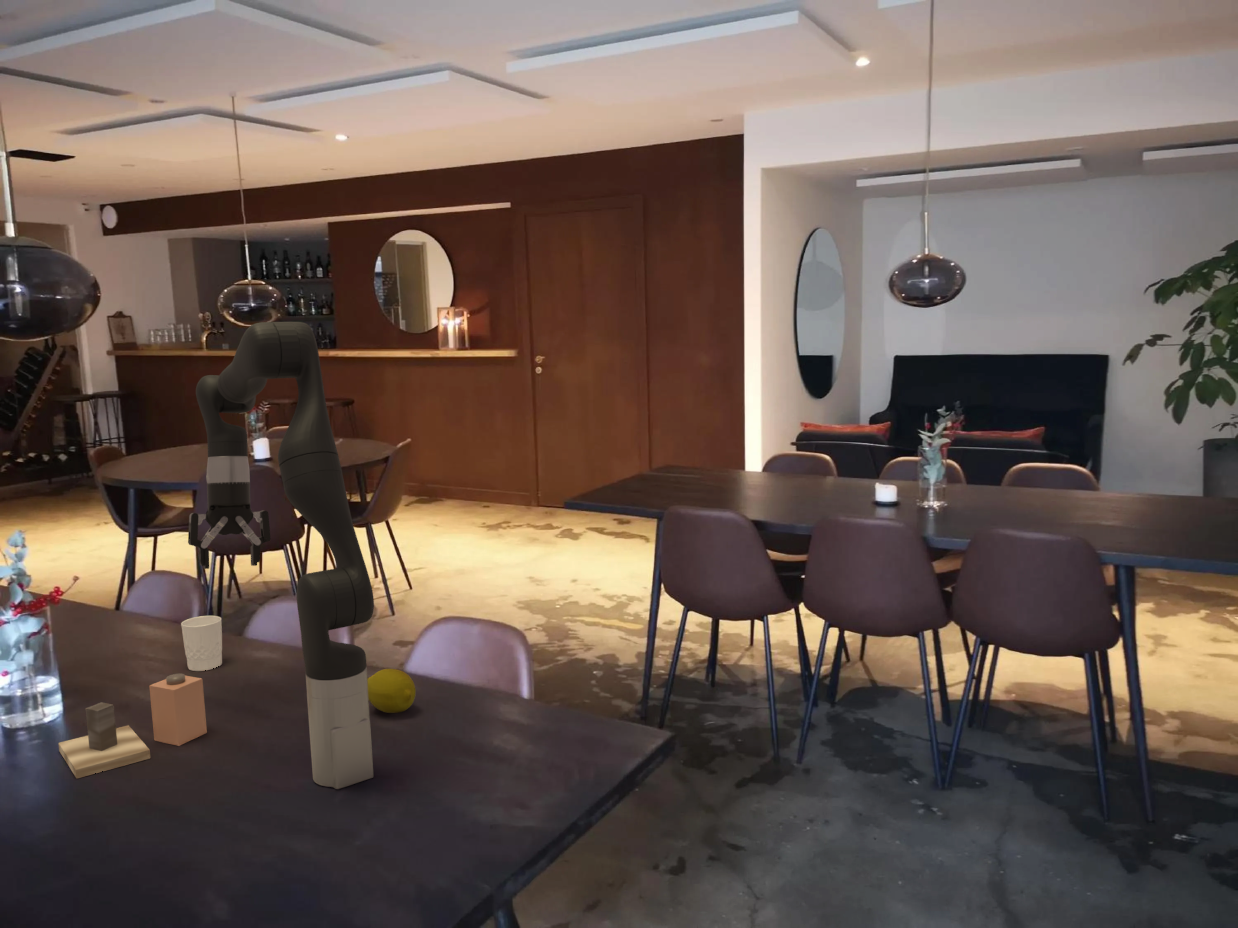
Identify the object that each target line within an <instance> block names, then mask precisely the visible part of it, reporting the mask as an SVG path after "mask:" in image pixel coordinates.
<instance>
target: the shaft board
mask: <svg viewBox="0 0 1238 928" xmlns="http://www.w3.org/2000/svg"><path fill="white" fill-rule="evenodd" d="M115 715H116V714H115V705H114V704H111V703H107V702H98V703H95V704H94V705H90V706H88V707H85V719H86V727H87V730H86V731H87V735H83V736H80V737H76V738H72V739H69V740H63V741H61V742H58V751H59V753H60V755H61V756H62V757H63V759H64V761H65V762H66V764H67V766H68V767H69V769H70V770H71V772H72V774H73V775H74V777H75V778H76V779H81V778H84V777H87V776H92V775H94V774H95V773H96V774H98V773H103V772H106V771H110V770H113V769H117V768H120V767H124V766H128V765H132V764H135V763H138V762H142V761H146V760H149V759H151V751H150V748H149V747H148V746H147V745H146V744H145V742H144V741H143V740H142V739H141V738H140V737H139V736H138V734H137V733H135V731H134V730H133V728H131V726H130V725H129V724H127V725H123V726H120V727H117V726H116V716H115ZM102 771H103V772H102ZM96 774H95V775H96Z"/></svg>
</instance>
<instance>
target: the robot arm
mask: <svg viewBox="0 0 1238 928" xmlns="http://www.w3.org/2000/svg"><path fill="white" fill-rule="evenodd" d="M272 379H275V380H276V379H295V381H296V383H297V390H298V391H297V392H298V394H297V395H298V396H297V397H298V398H297V404H296V407H295V410H294V414H293V416H292V418H291V421H290V423H289V425H288V427H287V429H286V431H285V434H284V436H283V437H282V441H281V442H280V446H279V449H278V453H277V460H278V467H279V471H280V475H281V476H280V477H281V482H282V485H283V489H284V494H285V496H286V499H288V502H289V503H290V504H291V505H292V507H294V509H295V510H296V511H297V512H298V513H299V515H301V517H303V518H304V519H305V520H306V521H307V523H309V524H310V525H311V526H312V527H313V528H314V529H315V530H316V531H317V532H318V533H319V534H320V535H321V537H322V538H323V540H324V541H325V543H326V545H328V547H329V549H330V551H331V553H332V556H333V558H334V561H335V563H336V567H337V568H331V569H325V570H320V571H313V572H309V573H305V574H303V575H301V576H300V577H299V578H298V579H299V580H298V582H297V585H296V606H297V613H298V621H299V629H300V635H301V637H300V638H301V648H302V656H303V661H304V671H305V672H304V673H305V684H306V685H305V686H306V687H305V688H306V699H307V701H306V702H307V714H308V727H309V728H308V729H309V731H308V732H309V743H310V756H311V758H310V759H311V768H312V769H311V770H312V772H311V773H312V779H313V782H314V783H316V784H317V785H319V786H321V787H322V786H323V787H329V788H330V787H331V788H334V789H335V790H340V789H343V788H346V787H349V786H352V785H354V784H358V783H361V782H363V781H364V782H365V781H366V780H369V779H372V778H374V764H373V761H374V760H373V750H372V749H373V747H372V732H371V731H372V730H371V717H370V703H369V702H370V701H369V699H368V681H367V679H368V667H367V655H366V652H365V650H364V649H363V647H360V646H359V645H355V644H353V643H352V644H351V643H344V642H339V641H334V640H331V638H330V634H329V633H330V631H333V630H338V629H343V628H347V627H348V628H349V627H351V626H356V625H359V624H364V623H366V622H368V621H370V620H371V619H372V617H373V614H374V608H375V600H374V593H373V588H372V583H371V579H370V575H369V572H368V569H367V566H366V563H365V559H364V557H363V554H362V550H361V546H360V543H359V540H358V537H357V533H356V530H355V527H354V523H353V520H352V519H353V518H352V515H351V510H350V505H349V501H348V496H347V492H346V486H345V485H346V484H345V481H344V475H343V469H342V467H341V466H342V465H341V461H340V456H339V453H338V448H337V446H336V442H335V438H334V437H335V436H334V433H333V430H332V425H331V421H330V417H329V416H330V415H329V412H328V408H327V402H326V395H325V390H324V389H325V388H324V382H323V374H322V368H321V361H320V355H319V348H318V342H317V340H316V336H315V334H314V331H313V329H312V328H311V326H310V325H309V324H308V323H306V322H303V321H265V322H264V321H263V322H262V321H261V322H257V323H253V324H251V325H249V327H247V329H246V330H245V331H244V333H243V335H242V336H241V339H240V341H239V344H238V346H237V348H236V350H235V354H234V357H233V359H232V361H231V363H229V364H228V365H227V366H226V368H224V369H223V370H222V371H221V373H219V375H215V374H214V375H213V374H209V375H208V374H207V375H204V376H202V377H201V378H200V379H199V380H198V382H197V384H196V386H195V387H196V388H195V395H196V396H195V398H196V401H197V404H198V406H199V407H198V408H199V411H200V413H201V416H202V419H203V421H204V422H203V423H204V427H205V431H206V438H207V439H206V440H207V463H206V464H207V465H206V476H205V480H206V496H207V498H206V499H207V502H206V503H207V511H206V513H197V512H191V513H190V514H189V515H188V535H187V536H188V541H187V544H188V545H189V546H193V547H195V548H197V549H198V556H199V565H200V566H201V567H202V566H203V569H204V570H205V569H206V570H209V569H210V548H208V546H210V544H211V543H212V542H213V540H214V539H215V538H216V537H217V536H218V535H220V536H227V535H240V534H242V535H243V536H244V537H245V538H246V539H247V540H248V541H249V542H250V543H251V545H250V565H251V566H252V567H256V566H258V563H261V562H260V561H261V546H262V544H265V543H268V542H271V539H272V538H271V530H270V529H271V527H270V517H269V511H268V510H260V511H252V508H251V480H250V479H251V477H250V473H251V472H250V465H249V458H248V457H249V456H248V454H249V453H248V452H249V449H248V448H249V447H248V432H247V429H246V428H245V427H243V426H239V425H236V424H231V423H228V422H226V421H224V420H223V417H221V415H220V413H221V414H225V413H226V414H244V413H248V412H250V411H252V410H253V409H254V407H255V404H256V401H257V395H259V394H260V393H261V392H262V391H263V390H264V388H265V387H266V385H267V382H268V380H272ZM254 518H255V521H256V522H257V523H259V531H260V536H259V537H258V536H257V535H256V533H255V532H254V530H253V529H252V528H251V527H250V526H249V524H250V523H251V522H252V520H253V519H254ZM204 520H205V521H206V522H207V524H208V525H209V526H210V527H209V529H208V530H207V532H205V535H204V536H203V537H202V539H201V540H199V539H198V537H199V536H198V535H199V526H200V525H202V523H203V521H204Z"/></svg>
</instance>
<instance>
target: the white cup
mask: <svg viewBox="0 0 1238 928" xmlns="http://www.w3.org/2000/svg"><path fill="white" fill-rule="evenodd" d="M222 625H223V624H222V617H221V616H218V615H201V616H195V617H190V618H188V619H185V620H183V621H182V622H180V627H181V632H182V639H183V640H182V641H183V646H184V647H183V648H184V654H185V657H186V663H187V664H186V665H187V668H188V670H189V671H192V672H204V671H205V670H206V671H209V670H213V668H214V669H216V667H217V668H218V666H219V667H220V666H221V665H222V664H223V654H222V652H223V632H222V631H223V628H222Z"/></svg>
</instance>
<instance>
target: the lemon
mask: <svg viewBox="0 0 1238 928" xmlns="http://www.w3.org/2000/svg"><path fill="white" fill-rule="evenodd" d="M367 681H368V699H369V702H370V704H371V705H372V706H373V707H374V708H375V709H377V710H378V711H381V712H383V713H388V714H399V713H403V712H405V711H407V710H408V709H409V708H411V706H412V705H413V704H414V701H415V698H416V692H417V691H416V685H415V683H414V681H413V679H412V677H410V675H409V674H408V673H406V672H404V671H403V670H400V669H395V668H384V669H381V670H378V671H377V672H375V673H373V675H371V676H369V677H367Z"/></svg>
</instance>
